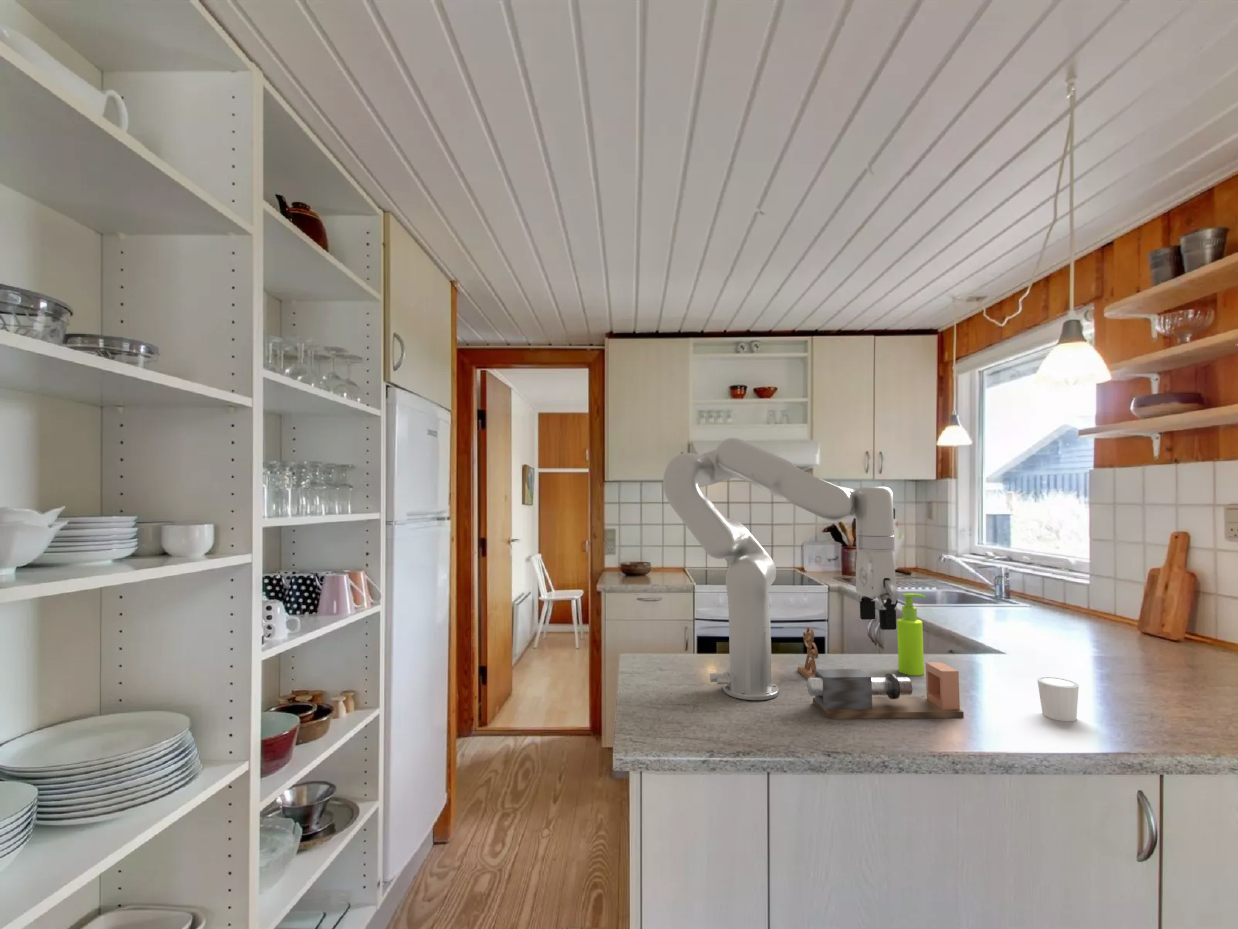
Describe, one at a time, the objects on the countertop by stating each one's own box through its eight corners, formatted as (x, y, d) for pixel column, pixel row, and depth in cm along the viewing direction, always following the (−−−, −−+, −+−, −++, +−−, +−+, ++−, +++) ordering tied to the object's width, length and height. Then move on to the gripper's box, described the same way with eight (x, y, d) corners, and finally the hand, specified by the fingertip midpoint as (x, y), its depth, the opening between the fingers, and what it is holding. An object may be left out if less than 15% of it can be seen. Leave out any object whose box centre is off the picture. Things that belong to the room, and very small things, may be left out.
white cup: (1082, 725, 116) (1081, 689, 116) (1040, 718, 120) (1038, 683, 120) (1078, 714, 122) (1076, 679, 122) (1037, 707, 126) (1036, 674, 126)
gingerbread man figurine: (825, 680, 144) (824, 631, 145) (810, 681, 144) (809, 632, 145) (811, 670, 153) (810, 623, 154) (797, 670, 153) (796, 624, 154)
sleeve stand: (827, 718, 120) (826, 679, 121) (812, 703, 129) (812, 667, 130) (963, 717, 120) (962, 679, 121) (939, 702, 129) (938, 666, 130)
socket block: (942, 709, 122) (941, 671, 122) (926, 698, 128) (925, 662, 128) (959, 709, 122) (958, 671, 122) (942, 698, 128) (941, 662, 128)
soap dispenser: (931, 676, 147) (929, 596, 148) (902, 675, 149) (899, 595, 150) (924, 669, 153) (921, 592, 154) (895, 668, 154) (893, 591, 155)
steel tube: (814, 703, 122) (813, 678, 123) (806, 694, 127) (805, 670, 128) (914, 702, 122) (914, 677, 123) (902, 694, 128) (902, 669, 128)
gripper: (842, 540, 135) (844, 615, 134) (875, 547, 118) (878, 633, 117) (874, 540, 135) (877, 615, 134) (912, 547, 118) (915, 633, 117)
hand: (877, 624), depth 126 cm, fingers open, 9 cm apart
